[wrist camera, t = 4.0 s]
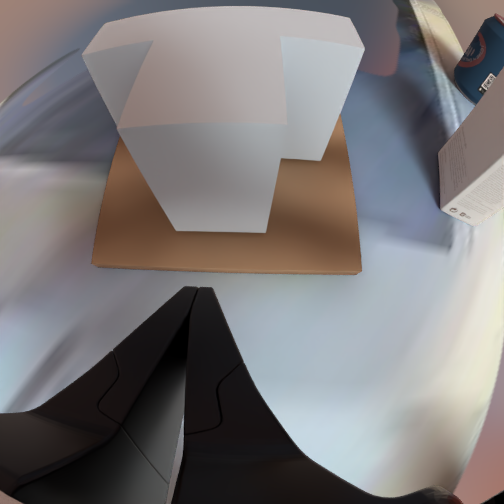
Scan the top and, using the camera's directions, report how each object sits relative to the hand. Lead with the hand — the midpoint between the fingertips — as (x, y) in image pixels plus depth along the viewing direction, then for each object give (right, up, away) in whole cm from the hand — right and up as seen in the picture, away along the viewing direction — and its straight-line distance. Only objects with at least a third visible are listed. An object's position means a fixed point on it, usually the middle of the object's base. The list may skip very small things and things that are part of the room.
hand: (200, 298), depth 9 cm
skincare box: (+18, +7, +11) cm, 22 cm away
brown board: (0, +9, +11) cm, 14 cm away
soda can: (+29, +21, +15) cm, 38 cm away
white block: (0, +6, +9) cm, 11 cm away
